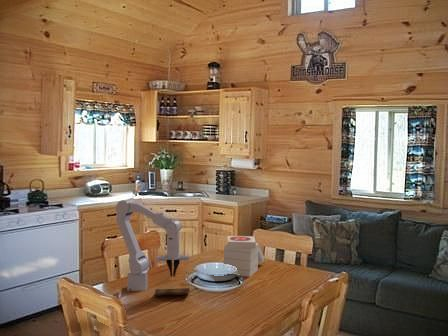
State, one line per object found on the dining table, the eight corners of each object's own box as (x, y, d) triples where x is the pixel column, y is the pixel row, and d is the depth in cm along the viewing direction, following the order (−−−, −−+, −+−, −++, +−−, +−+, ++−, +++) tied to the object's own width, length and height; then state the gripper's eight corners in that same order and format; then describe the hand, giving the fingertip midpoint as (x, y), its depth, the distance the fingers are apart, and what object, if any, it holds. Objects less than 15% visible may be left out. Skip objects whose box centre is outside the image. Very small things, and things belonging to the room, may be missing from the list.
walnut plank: (155, 292, 209) (155, 289, 210) (154, 296, 217) (154, 293, 217) (189, 291, 212) (189, 288, 212) (187, 295, 219) (187, 292, 220)
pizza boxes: (267, 264, 277) (268, 233, 276) (252, 278, 249) (253, 244, 248) (236, 260, 284) (237, 230, 283) (218, 273, 256) (218, 240, 254)
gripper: (157, 249, 212) (156, 279, 213) (189, 248, 215) (189, 278, 216) (156, 245, 219) (156, 274, 220) (188, 244, 222) (187, 273, 223)
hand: (172, 276), depth 219 cm, fingers closed
